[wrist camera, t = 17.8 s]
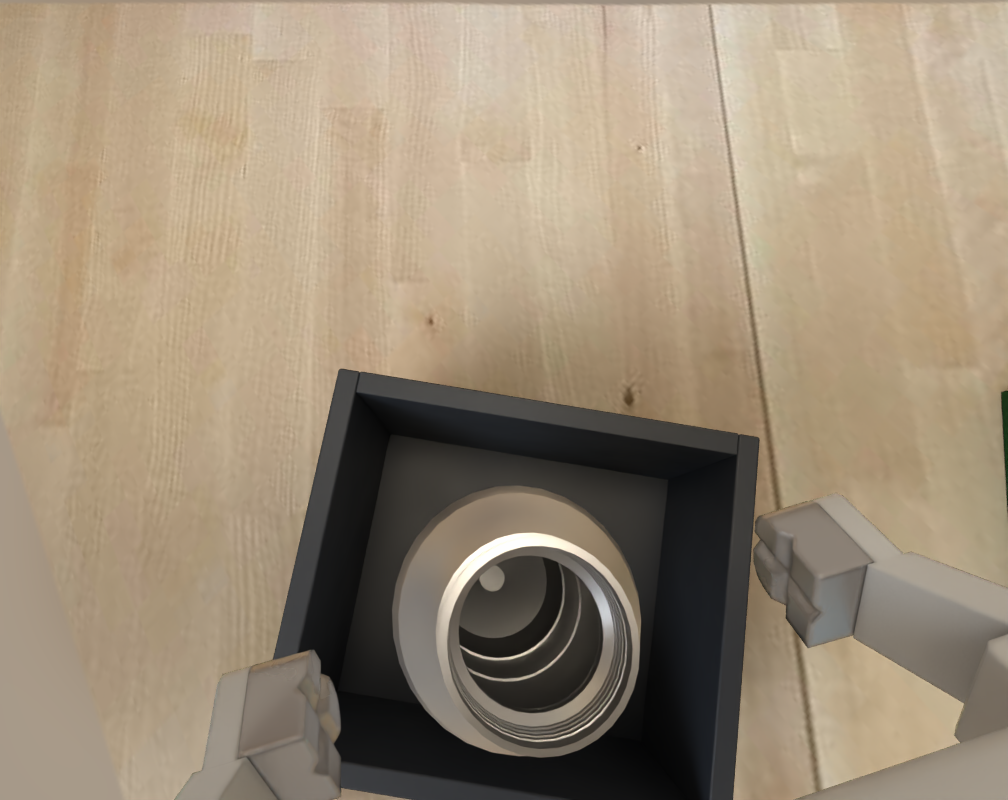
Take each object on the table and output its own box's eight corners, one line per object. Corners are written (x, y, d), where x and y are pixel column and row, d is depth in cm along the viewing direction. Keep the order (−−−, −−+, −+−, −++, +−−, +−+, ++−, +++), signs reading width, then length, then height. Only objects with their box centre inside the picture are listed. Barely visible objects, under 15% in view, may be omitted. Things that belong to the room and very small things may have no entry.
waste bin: (321, 701, 30) (246, 772, 21) (380, 418, 33) (338, 367, 24) (651, 757, 30) (730, 854, 21) (680, 468, 33) (760, 437, 24)
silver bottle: (529, 488, 32) (631, 402, 12) (581, 622, 31) (785, 764, 11) (404, 535, 31) (302, 524, 12) (452, 676, 30) (430, 930, 10)
